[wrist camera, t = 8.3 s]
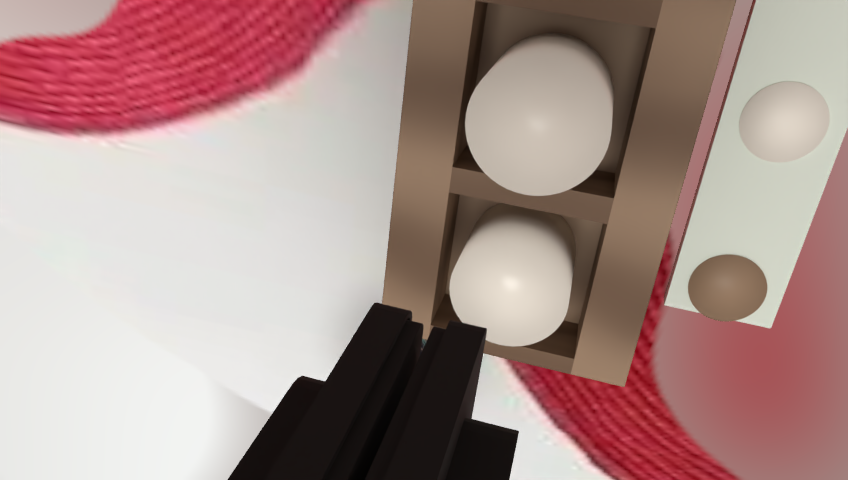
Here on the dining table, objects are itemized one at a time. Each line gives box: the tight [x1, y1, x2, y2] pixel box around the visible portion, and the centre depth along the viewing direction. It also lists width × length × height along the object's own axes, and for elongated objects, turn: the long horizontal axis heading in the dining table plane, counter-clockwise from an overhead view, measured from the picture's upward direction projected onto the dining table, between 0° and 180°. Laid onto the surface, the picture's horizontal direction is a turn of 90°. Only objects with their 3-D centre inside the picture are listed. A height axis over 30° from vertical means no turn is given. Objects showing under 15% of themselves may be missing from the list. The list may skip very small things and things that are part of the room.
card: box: [664, 0, 848, 328], centre depth 29 cm, size 18×5×1 cm, turn 173°
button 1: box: [449, 203, 576, 346], centre depth 31 cm, size 5×5×4 cm
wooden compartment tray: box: [382, 0, 736, 387], centre depth 29 cm, size 23×11×4 cm, turn 173°
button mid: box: [465, 33, 614, 196], centre depth 26 cm, size 5×5×4 cm
